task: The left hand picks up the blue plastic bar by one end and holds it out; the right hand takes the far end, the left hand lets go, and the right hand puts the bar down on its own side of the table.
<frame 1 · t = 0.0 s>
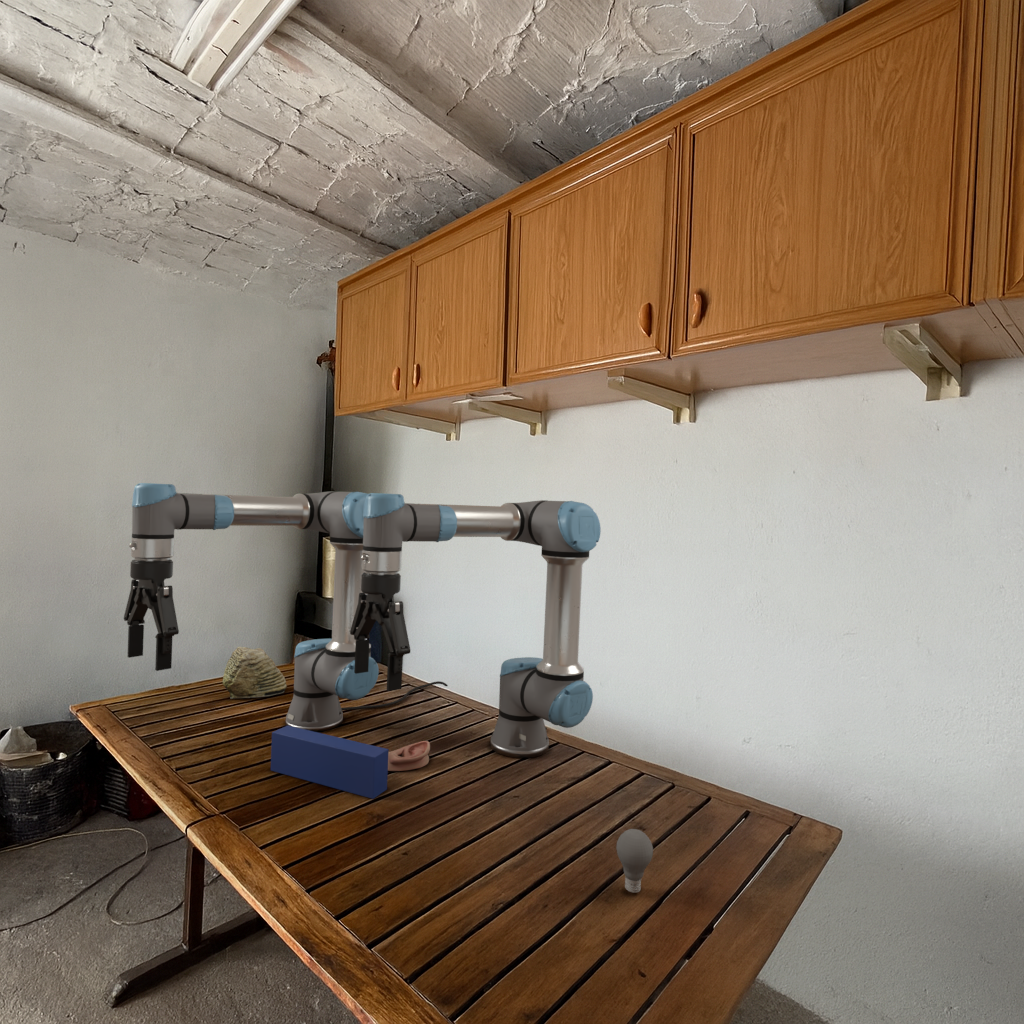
left hand: (148, 662, 129), 28 cm above the table, tool pointing down, fingers open, 13 cm apart
right hand: (376, 680, 124), 28 cm above the table, tool pointing down, fingers open, 13 cm apart
light bulb: (632, 891, 106), on the table
fossil: (254, 694, 198), on the table
anatomical model: (400, 762, 153), on the table
bar: (327, 779, 142), on the table
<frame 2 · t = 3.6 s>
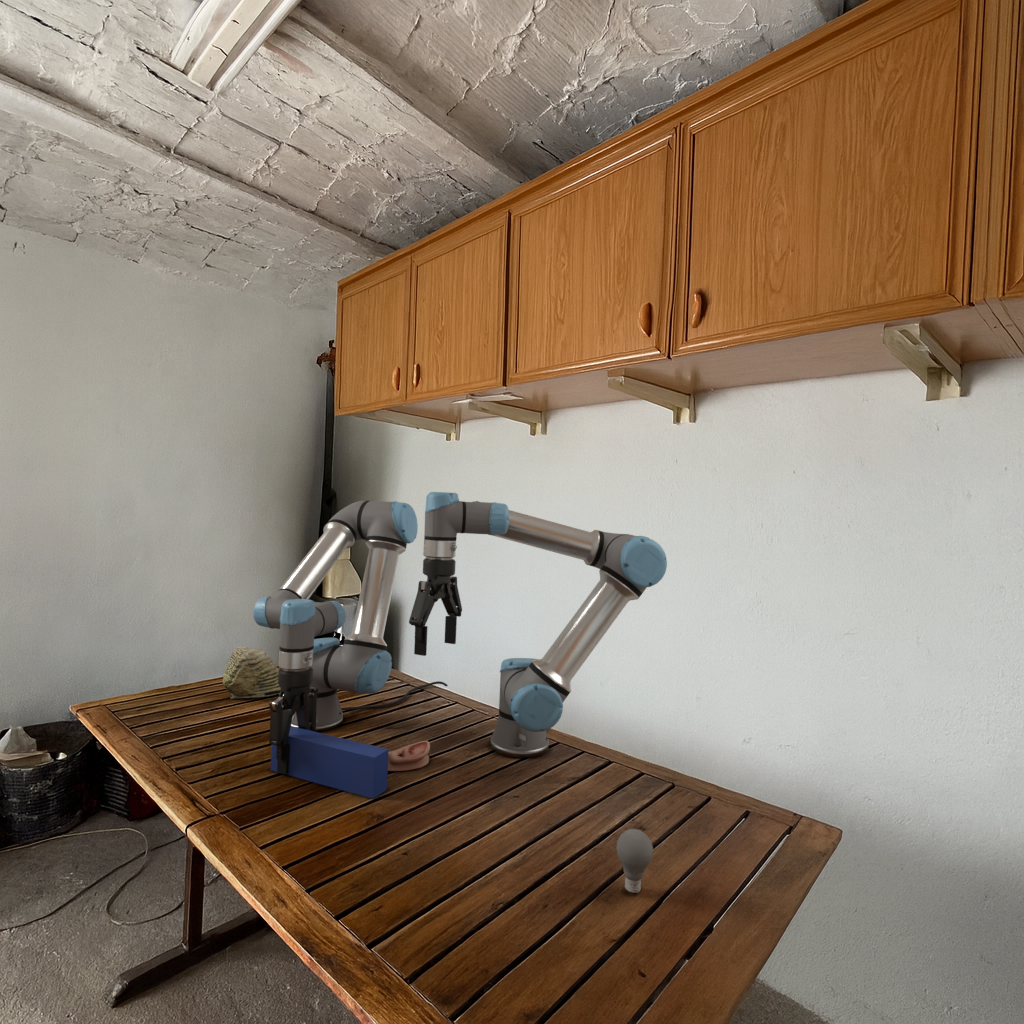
left hand: (292, 767, 146), 1 cm above the table, tool pointing down, fingers closed on bar, 5 cm apart
right hand: (435, 648, 148), 29 cm above the table, tool pointing down, fingers open, 13 cm apart
bar: (327, 779, 142), on the table, touching left hand
everything else where it was.
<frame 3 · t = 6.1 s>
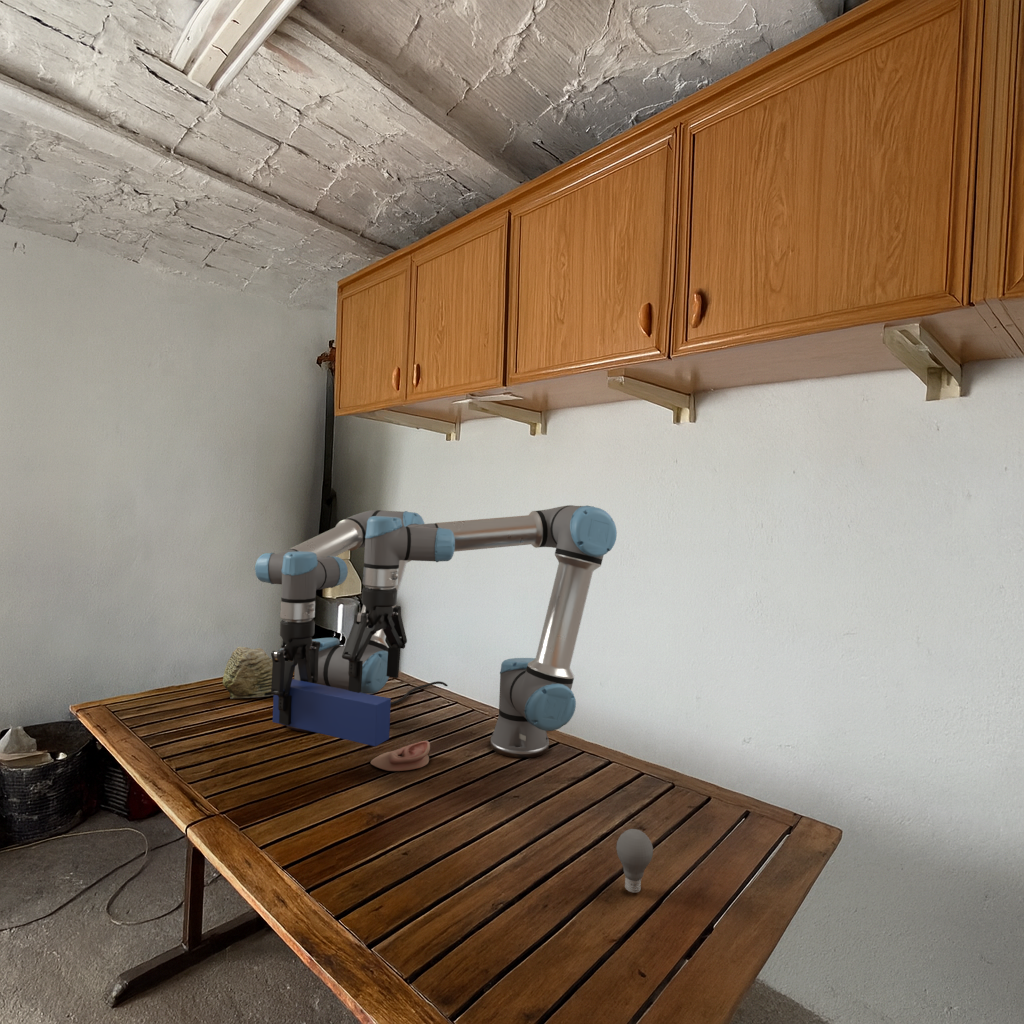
left hand: (294, 719, 146), 12 cm above the table, tool pointing down, fingers closed on bar, 5 cm apart
right hand: (374, 683, 138), 23 cm above the table, tool pointing down, fingers open, 13 cm apart
bar: (329, 730, 142), point 11 cm above the table, touching left hand
everything else where it was.
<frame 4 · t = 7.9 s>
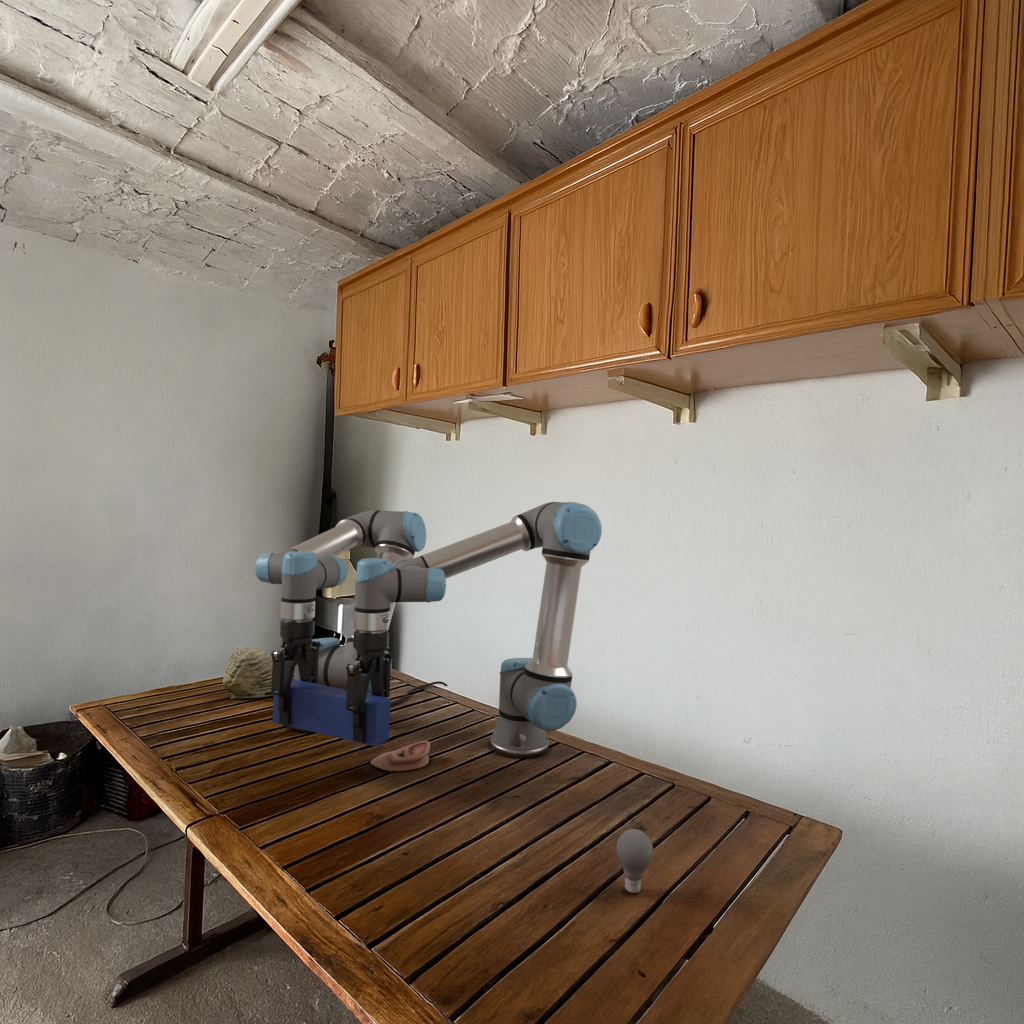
left hand: (294, 719, 146), 12 cm above the table, tool pointing down, fingers closed on bar, 5 cm apart
right hand: (367, 736, 138), 12 cm above the table, tool pointing down, fingers closed on bar, 5 cm apart
bar: (329, 730, 142), point 11 cm above the table, touching left hand, right hand
everything else where it was.
when the left hand's fingers open (12 cm above the table, at t = 8.7 s): bar stays where it is, held by the right hand.
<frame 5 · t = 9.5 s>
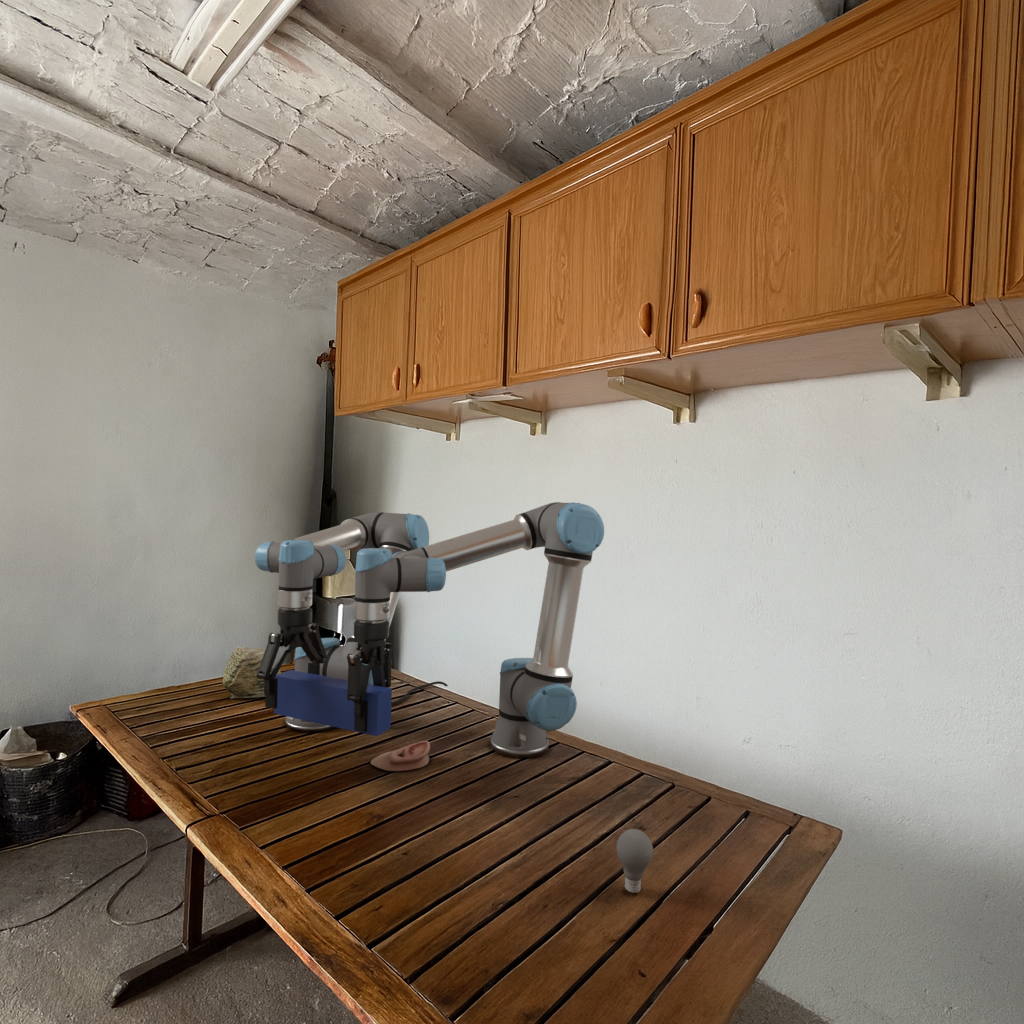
left hand: (292, 698, 146), 16 cm above the table, tool pointing down, fingers open, 13 cm apart
right hand: (368, 726, 138), 14 cm above the table, tool pointing down, fingers closed on bar, 5 cm apart
bar: (330, 721, 142), point 13 cm above the table, touching right hand
everything else where it was.
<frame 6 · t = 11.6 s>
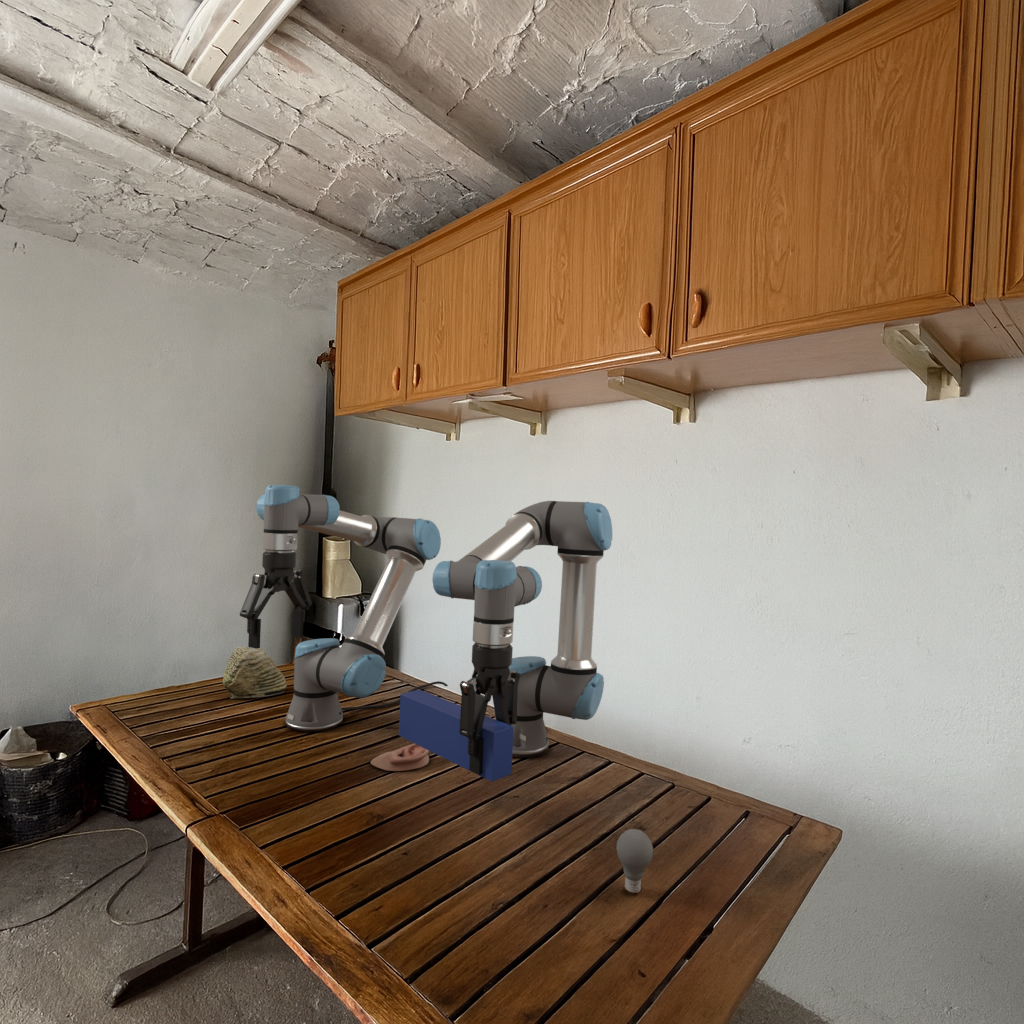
left hand: (276, 642, 148), 29 cm above the table, tool pointing down, fingers open, 13 cm apart
right hand: (487, 767, 118), 14 cm above the table, tool pointing down, fingers closed on bar, 5 cm apart
bar: (451, 753, 125), point 14 cm above the table, touching right hand
everything else where it was.
when the right hand's fingers open (2 cm above the table, at t = 13.0 s): bar drops 1 cm, on the table.
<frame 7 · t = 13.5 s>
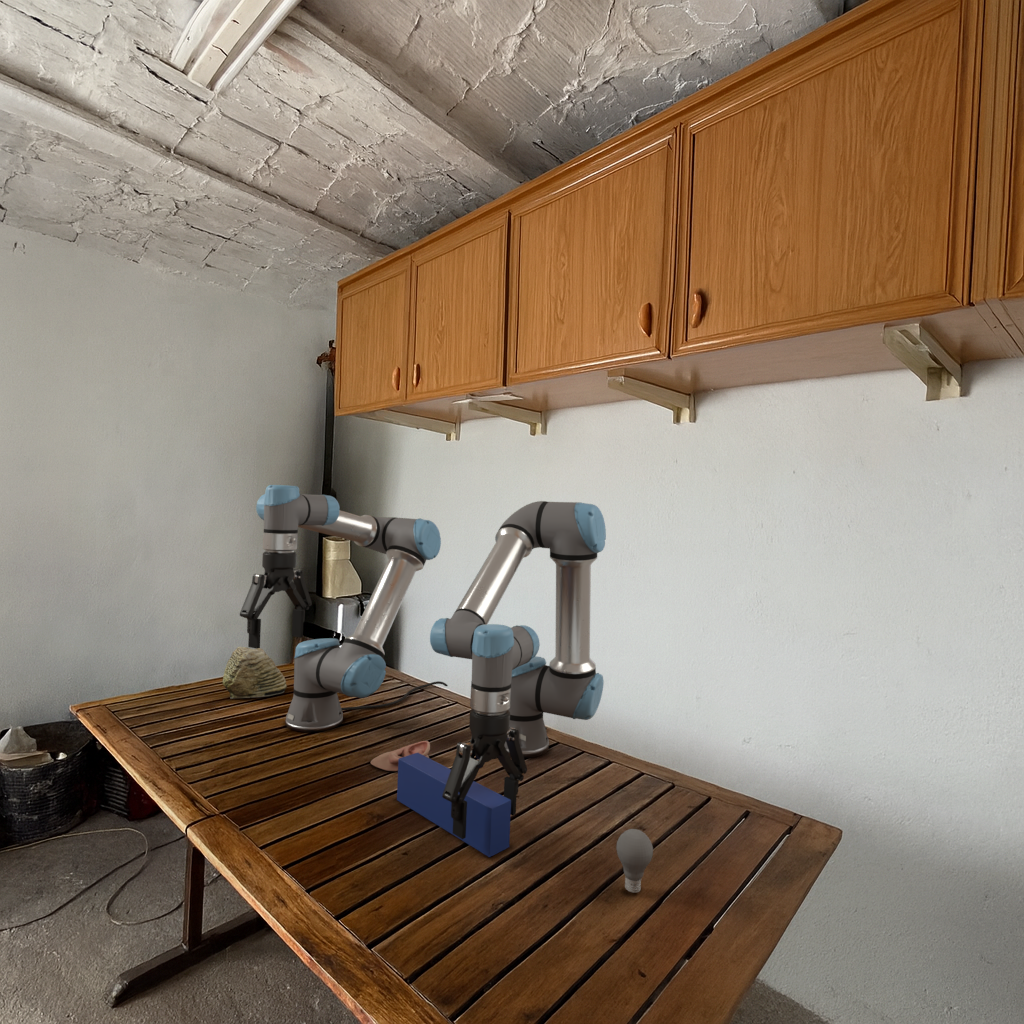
left hand: (276, 642, 148), 29 cm above the table, tool pointing down, fingers open, 13 cm apart
right hand: (485, 823, 118), 4 cm above the table, tool pointing down, fingers open, 12 cm apart
bar: (449, 822, 126), on the table
everything else where it was.
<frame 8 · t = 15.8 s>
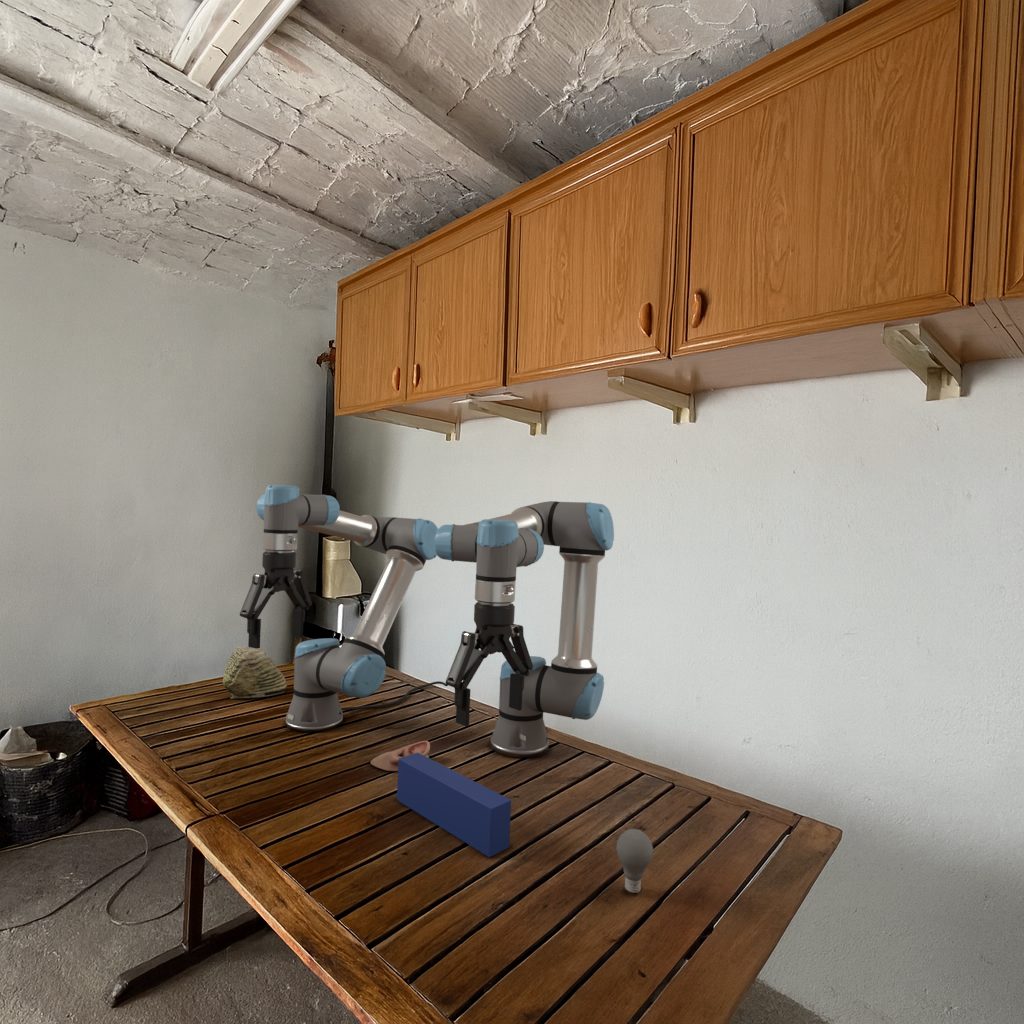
left hand: (276, 642, 148), 29 cm above the table, tool pointing down, fingers open, 13 cm apart
right hand: (489, 716, 118), 24 cm above the table, tool pointing down, fingers open, 13 cm apart
nothing on the table moved.
at the end: bar inside the target area (10.1 cm from its centre), on the table; the left hand is holding nothing; the right hand is holding nothing; bar at rest at the end (0.0 cm/s) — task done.
